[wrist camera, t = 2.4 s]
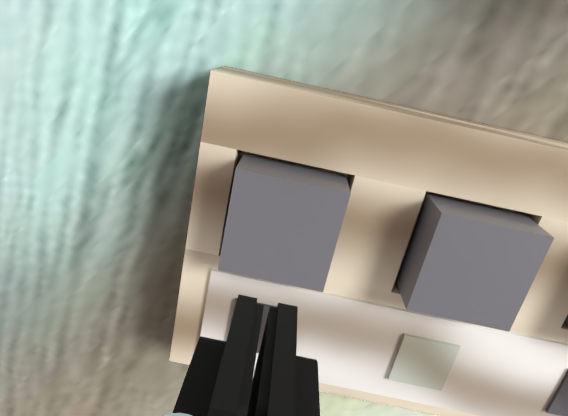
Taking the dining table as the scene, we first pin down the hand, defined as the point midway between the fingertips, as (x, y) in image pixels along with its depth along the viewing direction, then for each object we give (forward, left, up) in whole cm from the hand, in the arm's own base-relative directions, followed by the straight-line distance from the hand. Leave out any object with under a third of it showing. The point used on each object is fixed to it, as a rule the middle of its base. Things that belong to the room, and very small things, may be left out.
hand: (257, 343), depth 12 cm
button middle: (0, -9, -10) cm, 14 cm away
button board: (-2, -9, -13) cm, 16 cm away
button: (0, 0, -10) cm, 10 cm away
